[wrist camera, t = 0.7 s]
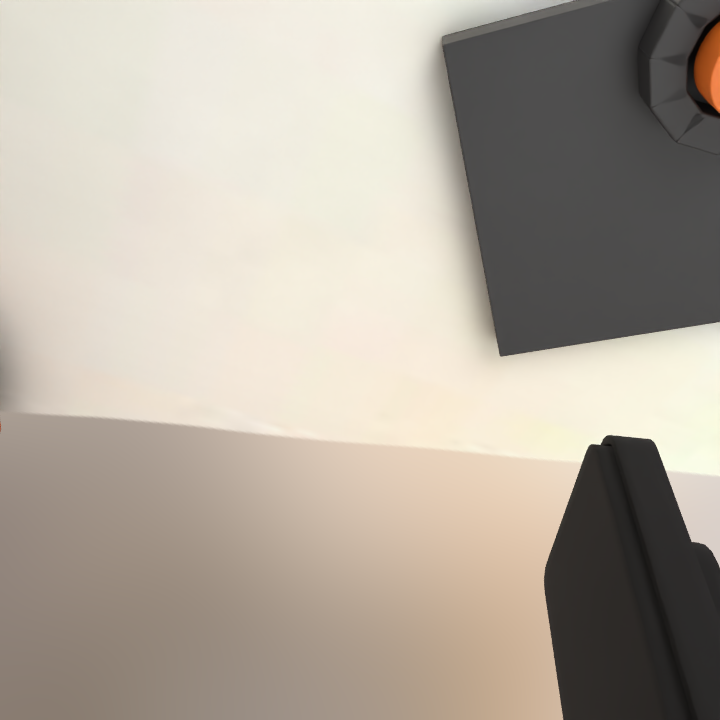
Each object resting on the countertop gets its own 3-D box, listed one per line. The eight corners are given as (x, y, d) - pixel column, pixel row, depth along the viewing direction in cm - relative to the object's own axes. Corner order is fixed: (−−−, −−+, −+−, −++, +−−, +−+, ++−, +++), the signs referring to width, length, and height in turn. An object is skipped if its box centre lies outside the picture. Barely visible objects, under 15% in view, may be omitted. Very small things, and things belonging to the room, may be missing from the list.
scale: (439, 19, 25) (439, 39, 22) (824, -86, 22) (872, -77, 20) (497, 339, 33) (502, 378, 31) (783, 292, 30) (813, 332, 28)
